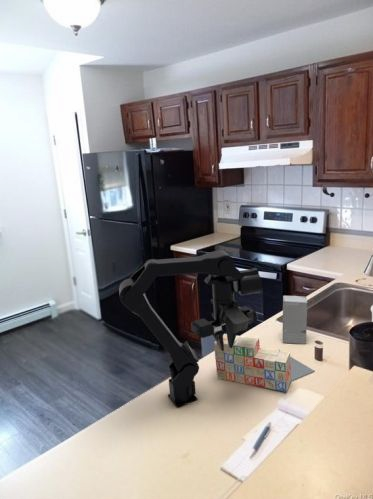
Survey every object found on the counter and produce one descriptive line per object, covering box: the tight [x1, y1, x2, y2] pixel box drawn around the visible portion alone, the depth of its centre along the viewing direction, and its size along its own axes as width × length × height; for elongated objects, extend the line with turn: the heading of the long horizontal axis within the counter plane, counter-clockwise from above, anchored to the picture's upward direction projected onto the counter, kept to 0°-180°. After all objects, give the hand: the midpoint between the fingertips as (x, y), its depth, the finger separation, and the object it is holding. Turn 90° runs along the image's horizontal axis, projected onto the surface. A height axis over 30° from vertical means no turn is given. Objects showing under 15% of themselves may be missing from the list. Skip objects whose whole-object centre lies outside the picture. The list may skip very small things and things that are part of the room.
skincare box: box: [282, 295, 308, 345], centre depth 133 cm, size 8×7×16 cm
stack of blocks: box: [213, 333, 291, 393], centre depth 111 cm, size 21×6×12 cm, turn 62°
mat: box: [278, 349, 315, 383], centre depth 118 cm, size 14×16×1 cm
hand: (226, 349), depth 105 cm, fingers open, 3 cm apart
